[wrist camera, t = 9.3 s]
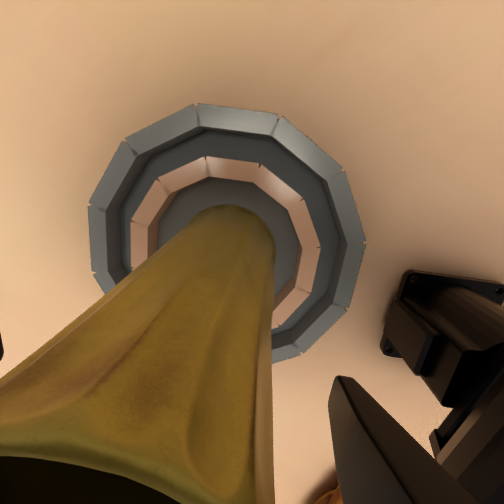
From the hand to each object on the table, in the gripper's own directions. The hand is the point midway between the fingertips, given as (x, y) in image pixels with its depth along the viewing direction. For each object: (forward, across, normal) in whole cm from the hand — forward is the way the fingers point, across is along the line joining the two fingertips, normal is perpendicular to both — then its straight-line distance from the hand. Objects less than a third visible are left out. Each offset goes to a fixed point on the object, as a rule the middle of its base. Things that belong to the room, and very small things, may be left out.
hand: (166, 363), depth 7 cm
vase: (+11, 0, 0) cm, 11 cm away
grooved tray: (+11, 0, 0) cm, 11 cm away
